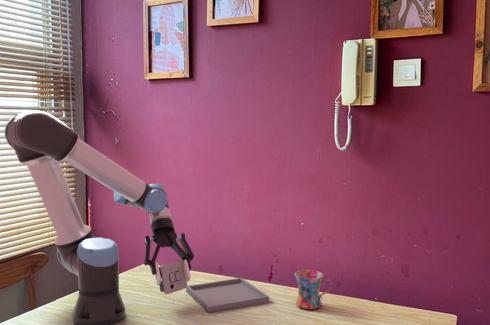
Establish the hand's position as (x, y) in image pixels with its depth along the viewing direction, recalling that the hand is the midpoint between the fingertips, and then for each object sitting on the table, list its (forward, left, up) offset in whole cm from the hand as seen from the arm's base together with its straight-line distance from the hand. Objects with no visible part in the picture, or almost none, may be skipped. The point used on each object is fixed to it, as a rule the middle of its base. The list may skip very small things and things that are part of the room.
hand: (174, 281), depth 143 cm
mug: (+41, -17, -9) cm, 46 cm away
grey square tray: (+19, +3, -9) cm, 22 cm away
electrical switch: (0, +3, -4) cm, 5 cm away
